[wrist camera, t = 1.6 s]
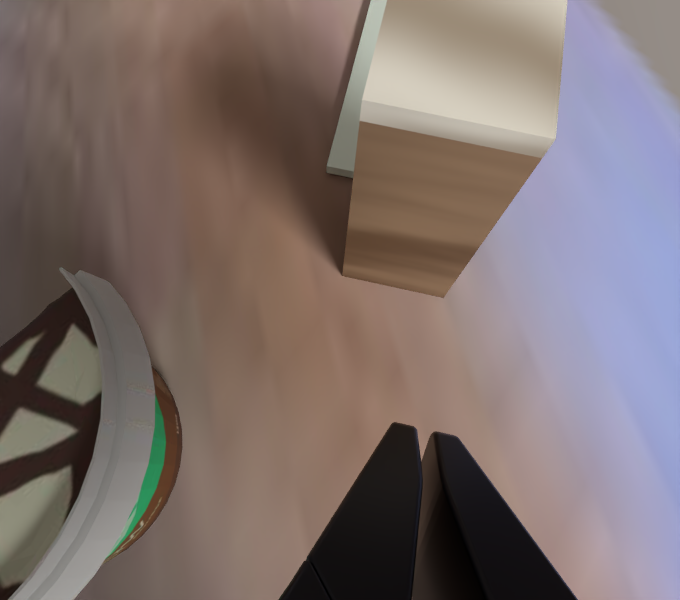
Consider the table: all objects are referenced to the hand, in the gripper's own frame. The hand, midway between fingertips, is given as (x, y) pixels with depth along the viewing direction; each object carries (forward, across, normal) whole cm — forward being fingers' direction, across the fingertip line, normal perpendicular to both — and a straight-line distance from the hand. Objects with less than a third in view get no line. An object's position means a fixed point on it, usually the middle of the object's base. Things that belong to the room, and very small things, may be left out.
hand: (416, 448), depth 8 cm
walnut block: (+17, 0, +2) cm, 17 cm away
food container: (+7, +10, +12) cm, 17 cm away
